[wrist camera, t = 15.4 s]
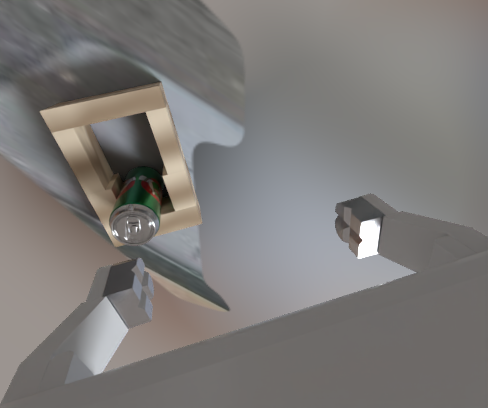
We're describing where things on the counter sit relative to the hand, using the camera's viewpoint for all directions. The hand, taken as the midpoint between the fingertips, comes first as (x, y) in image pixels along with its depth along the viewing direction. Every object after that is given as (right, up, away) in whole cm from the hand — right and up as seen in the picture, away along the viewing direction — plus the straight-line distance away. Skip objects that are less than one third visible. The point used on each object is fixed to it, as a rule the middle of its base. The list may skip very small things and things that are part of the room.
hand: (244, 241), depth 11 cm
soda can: (-14, +5, +27) cm, 31 cm away
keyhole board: (-14, +7, +25) cm, 30 cm away
